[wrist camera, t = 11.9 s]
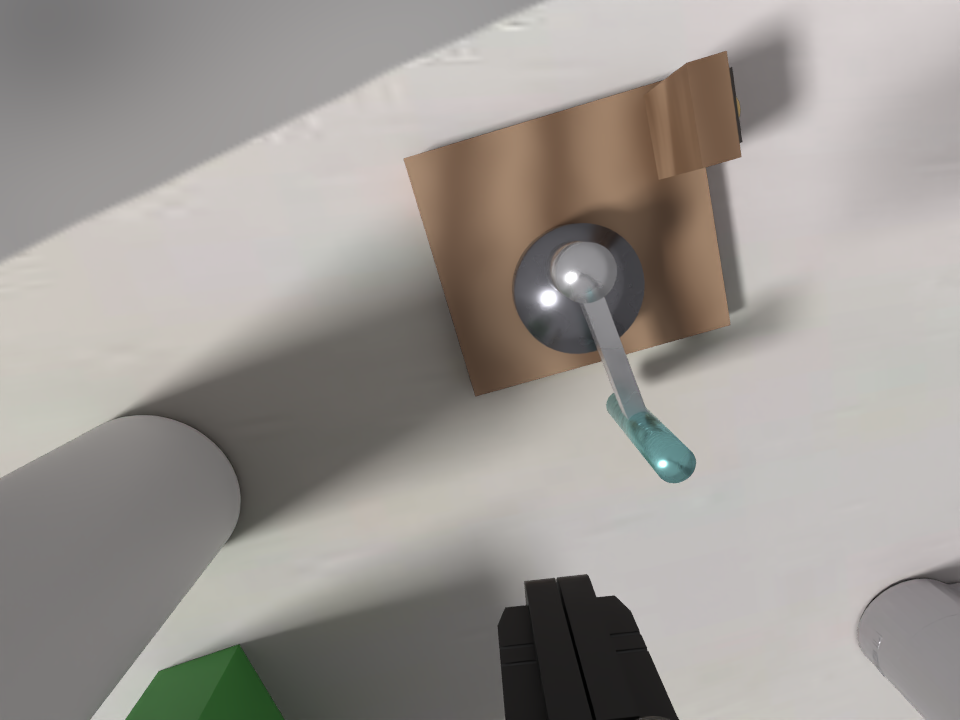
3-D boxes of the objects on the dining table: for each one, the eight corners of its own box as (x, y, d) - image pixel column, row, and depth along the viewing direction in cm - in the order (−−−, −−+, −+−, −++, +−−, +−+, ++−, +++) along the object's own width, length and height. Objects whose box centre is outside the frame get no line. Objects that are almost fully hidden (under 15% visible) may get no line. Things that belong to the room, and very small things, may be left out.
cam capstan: (492, 255, 32) (505, 265, 22) (609, 202, 31) (674, 189, 22) (568, 434, 35) (608, 511, 25) (675, 389, 35) (757, 450, 25)
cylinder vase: (56, 525, 38) (-648, 1032, 14) (100, 383, 36) (-673, 708, 11) (214, 582, 40) (-169, 1123, 16) (268, 451, 37) (-94, 859, 13)
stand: (684, 79, 32) (755, 30, 24) (722, 318, 36) (794, 341, 28) (407, 162, 33) (389, 141, 25) (474, 387, 36) (477, 429, 29)
